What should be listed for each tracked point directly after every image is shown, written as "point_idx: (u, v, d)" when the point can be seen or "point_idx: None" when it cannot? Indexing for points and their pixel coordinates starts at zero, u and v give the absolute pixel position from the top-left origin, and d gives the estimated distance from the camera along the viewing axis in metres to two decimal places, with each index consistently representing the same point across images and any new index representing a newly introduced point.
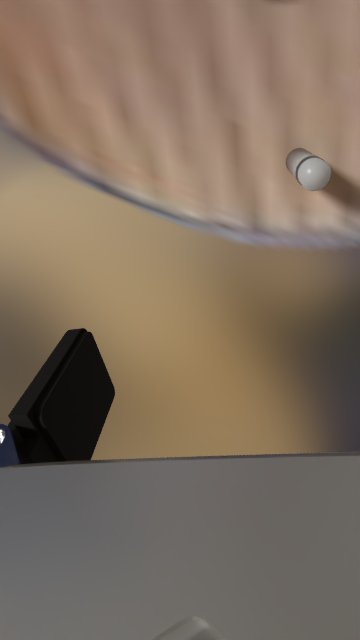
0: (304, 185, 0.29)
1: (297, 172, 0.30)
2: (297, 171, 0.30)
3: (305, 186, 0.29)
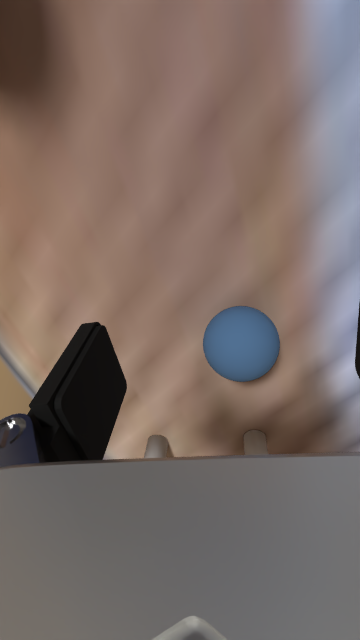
0: None
1: None
2: None
3: None
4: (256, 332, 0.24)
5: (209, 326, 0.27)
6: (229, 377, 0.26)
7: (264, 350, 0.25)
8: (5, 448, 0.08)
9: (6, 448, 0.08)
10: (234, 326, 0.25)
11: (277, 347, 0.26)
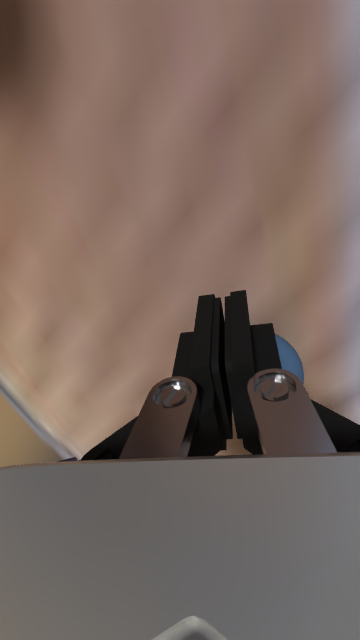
0: None
1: None
2: None
3: None
4: None
5: None
6: None
7: None
8: (163, 409, 0.08)
9: (164, 410, 0.08)
10: None
11: None
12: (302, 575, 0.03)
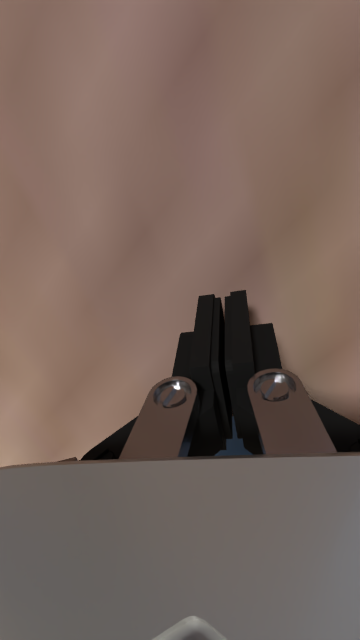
0: None
1: None
2: None
3: None
4: None
5: None
6: None
7: None
8: (163, 409, 0.08)
9: (164, 410, 0.08)
10: None
11: None
12: (302, 575, 0.03)
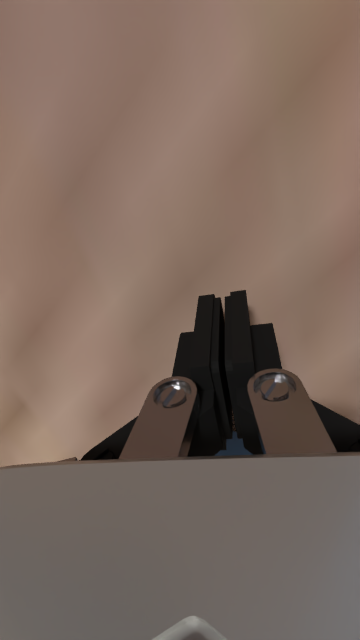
0: None
1: None
2: None
3: None
4: None
5: None
6: None
7: None
8: (163, 409, 0.08)
9: (164, 410, 0.08)
10: None
11: None
12: (302, 575, 0.03)
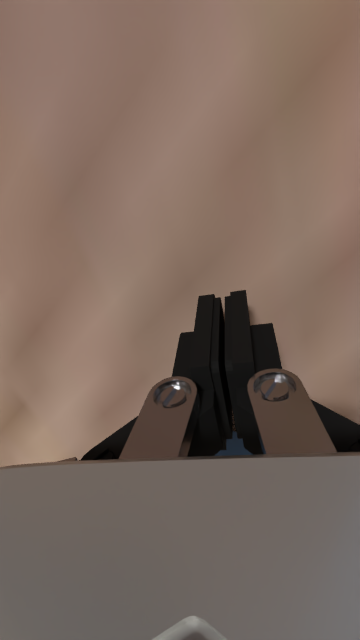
0: None
1: None
2: None
3: None
4: None
5: None
6: None
7: None
8: (163, 410, 0.08)
9: (164, 410, 0.08)
10: None
11: None
12: (302, 575, 0.03)
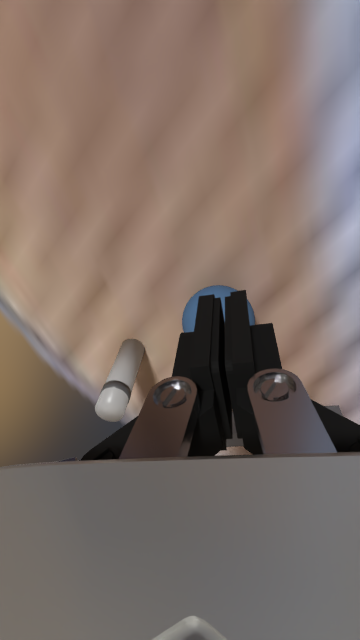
0: (96, 409, 0.28)
1: (103, 389, 0.28)
2: (104, 388, 0.29)
3: (96, 410, 0.28)
4: None
5: None
6: None
7: None
8: (163, 409, 0.08)
9: (164, 410, 0.08)
10: None
11: None
12: (302, 575, 0.03)
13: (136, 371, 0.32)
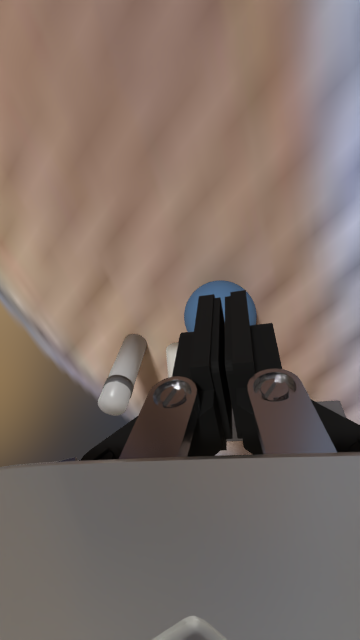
0: (99, 403, 0.28)
1: (106, 383, 0.29)
2: (107, 382, 0.29)
3: (99, 404, 0.28)
4: None
5: None
6: None
7: None
8: (164, 410, 0.08)
9: (164, 410, 0.08)
10: None
11: None
12: (302, 575, 0.03)
13: (138, 366, 0.32)
